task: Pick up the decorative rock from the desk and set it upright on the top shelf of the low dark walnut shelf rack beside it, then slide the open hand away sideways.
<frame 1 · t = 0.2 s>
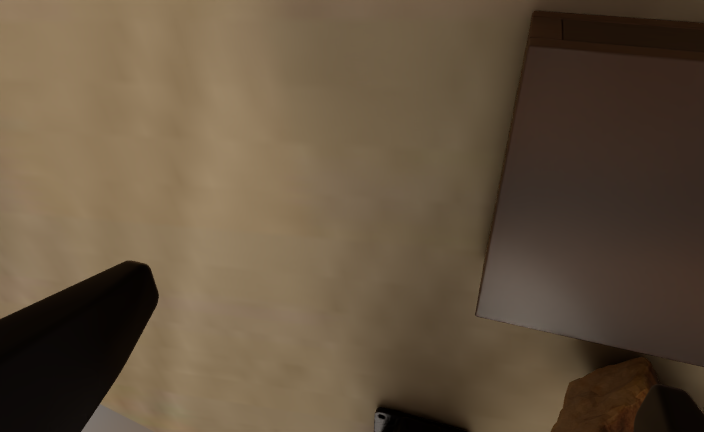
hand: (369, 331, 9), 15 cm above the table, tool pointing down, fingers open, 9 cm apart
decorative rock: (628, 397, 28), on the table
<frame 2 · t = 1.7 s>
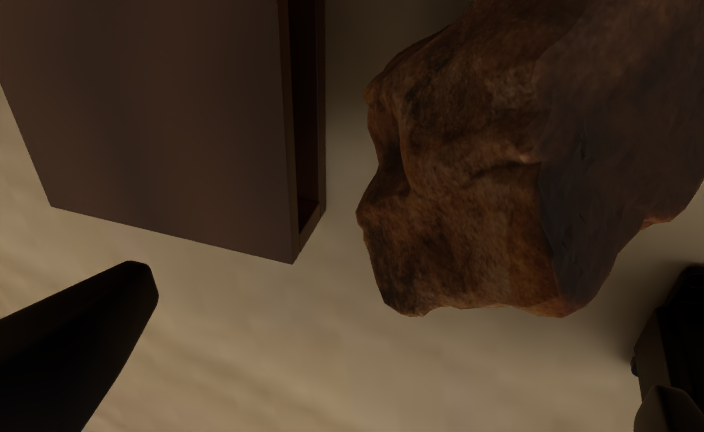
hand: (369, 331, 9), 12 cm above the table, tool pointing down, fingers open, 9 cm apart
decorative rock: (557, 35, 17), on the table
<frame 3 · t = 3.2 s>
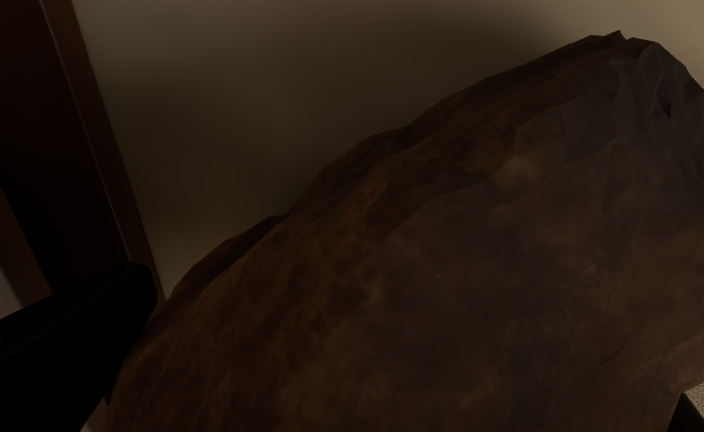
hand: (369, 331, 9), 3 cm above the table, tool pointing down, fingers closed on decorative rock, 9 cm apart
decorative rock: (417, 224, 12), on the table, touching gripper
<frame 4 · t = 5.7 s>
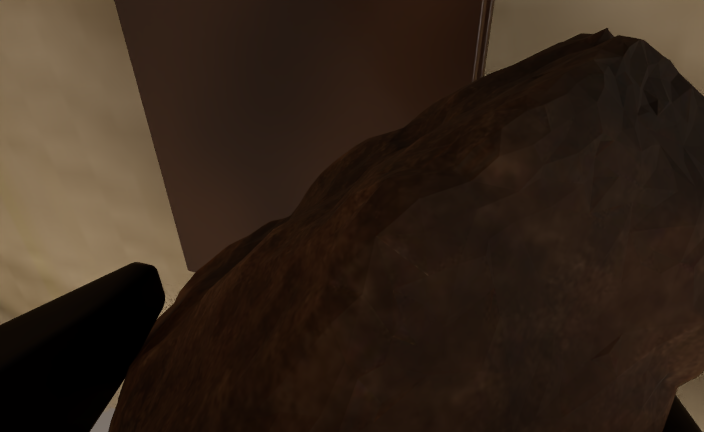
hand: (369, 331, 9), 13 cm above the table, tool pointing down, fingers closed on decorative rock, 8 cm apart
decorative rock: (417, 224, 12), point 9 cm above the table, touching gripper
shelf: (328, 66, 20), on the table
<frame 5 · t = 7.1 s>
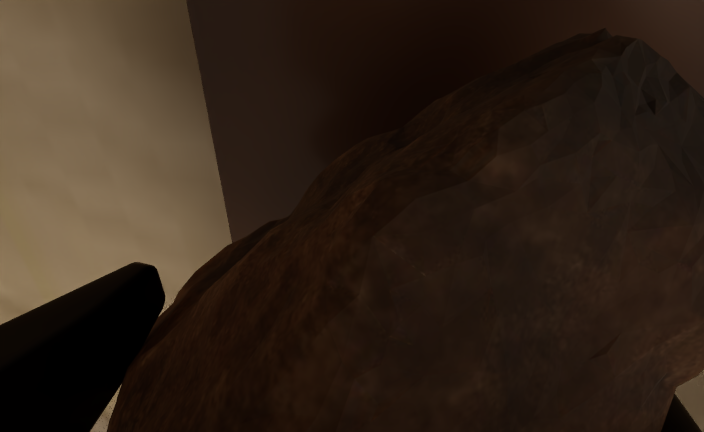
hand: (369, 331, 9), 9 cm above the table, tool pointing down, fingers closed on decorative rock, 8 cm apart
decorative rock: (416, 224, 12), point 6 cm above the table, touching gripper
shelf: (446, 112, 16), on the table
when the fingers open (7 cm above the table, at t = 8.4 s): decorative rock stays where it is, resting on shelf.
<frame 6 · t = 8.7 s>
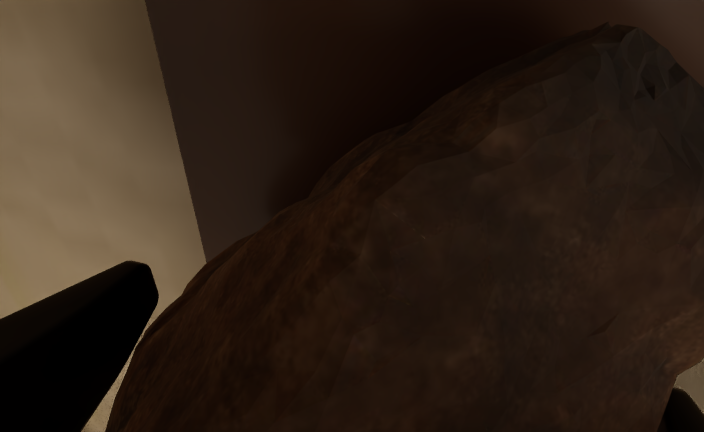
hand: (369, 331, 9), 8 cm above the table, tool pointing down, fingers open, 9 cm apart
decorative rock: (423, 224, 12), point 4 cm above the table, touching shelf
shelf: (442, 140, 15), on the table
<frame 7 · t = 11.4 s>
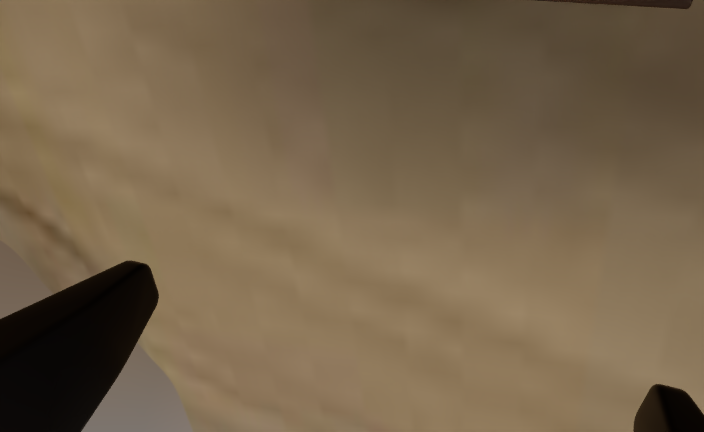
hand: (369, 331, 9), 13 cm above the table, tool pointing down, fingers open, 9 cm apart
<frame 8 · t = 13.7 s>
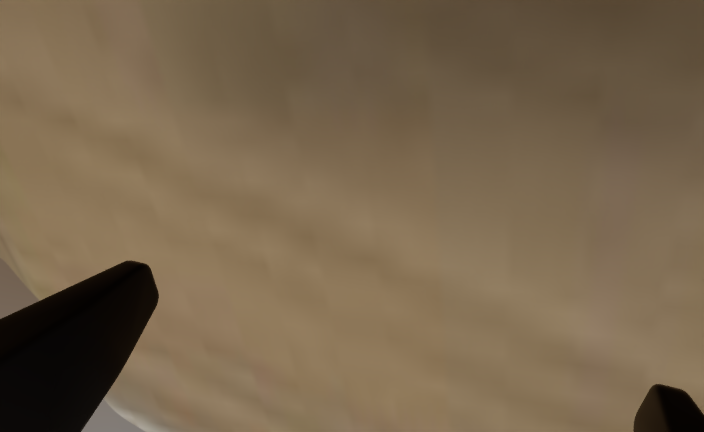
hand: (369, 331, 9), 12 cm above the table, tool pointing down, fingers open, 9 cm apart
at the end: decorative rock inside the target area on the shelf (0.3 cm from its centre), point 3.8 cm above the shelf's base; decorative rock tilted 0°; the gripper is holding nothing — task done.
